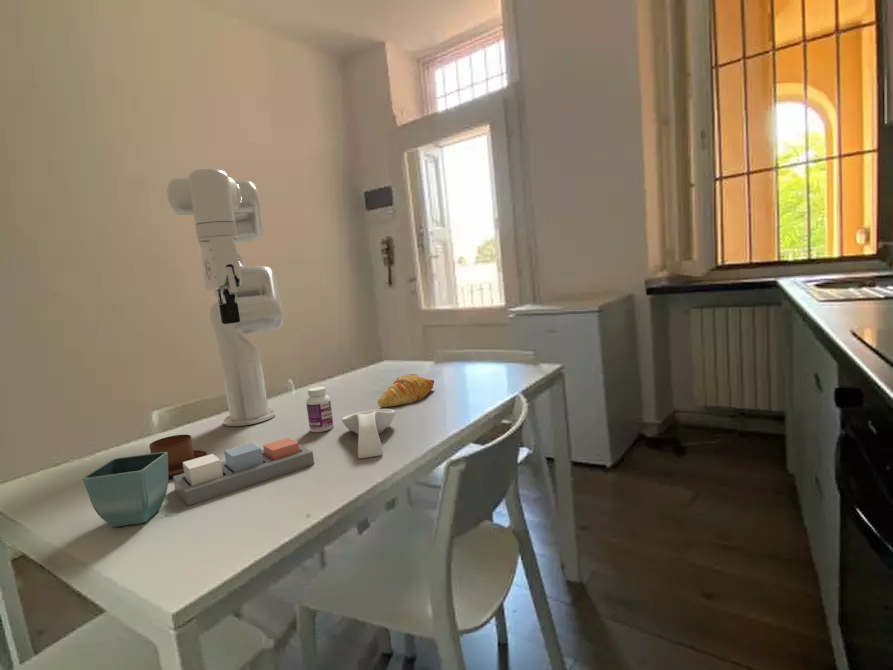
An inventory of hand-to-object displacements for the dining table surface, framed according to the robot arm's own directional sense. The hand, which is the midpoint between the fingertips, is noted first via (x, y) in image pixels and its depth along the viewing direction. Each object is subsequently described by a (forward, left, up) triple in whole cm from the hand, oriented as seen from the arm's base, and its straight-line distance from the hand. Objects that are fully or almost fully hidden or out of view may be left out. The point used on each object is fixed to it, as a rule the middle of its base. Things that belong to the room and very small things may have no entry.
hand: (231, 322), depth 108 cm
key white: (+16, -13, -25) cm, 32 cm away
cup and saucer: (0, -15, -28) cm, 31 cm away
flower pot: (+19, -24, -27) cm, 41 cm away
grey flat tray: (+16, -6, -27) cm, 32 cm away
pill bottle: (+1, +16, -27) cm, 32 cm away
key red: (+16, +1, -26) cm, 31 cm away
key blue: (+16, -6, -25) cm, 30 cm away
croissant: (-4, +43, -28) cm, 51 cm away
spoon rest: (+17, +20, -28) cm, 38 cm away
